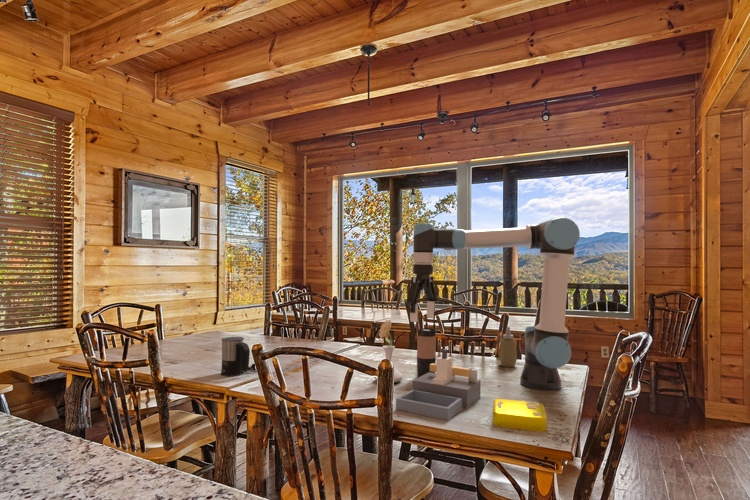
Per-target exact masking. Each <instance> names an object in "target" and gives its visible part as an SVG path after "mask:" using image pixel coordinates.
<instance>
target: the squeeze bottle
mask: <svg viewBox="0 0 750 500" xmlns="http://www.w3.org/2000/svg"><path fill="white" fill-rule="evenodd" d="M499 345H500V347H499V355H498V357H499V358H498V359H499V362H500V365H501V366H502V367H505V368H514V367H515V366H516V363H517V360H518V355H517V345H516V340H515V339H514V335H513V334H512V332H511V328H510V327H509V326H507V327H506V331H505V334H502V339H501V340H500V344H499Z"/></svg>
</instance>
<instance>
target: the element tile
mask: <svg viewBox="0 0 750 500" xmlns="http://www.w3.org/2000/svg"><path fill="white" fill-rule="evenodd" d="M547 423H548V417H547V412H546V409H545V406H544V404H543V403H541V402H537V401H527V400H526V401H524V400H514V399H506V398H495V399H494V400H493V405H492V425H493V426H495V427H496V428H505V429H513V430H522V431H530V432H539V433H541V432H543V433H544V431H545V432H547V431H546V430H547V429H548V428H547V427H548V424H547Z"/></svg>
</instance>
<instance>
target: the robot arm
mask: <svg viewBox="0 0 750 500" xmlns="http://www.w3.org/2000/svg"><path fill="white" fill-rule="evenodd" d="M580 233H581V232H580V229H579V227H578V224H577V223H576V222H575V221H573V220H572V219H570V218H567V217H563V216H561V217H560V216H559V217H558V216H557V217H553V218H551V219H549V220H546V221H543V222H539V223H534V224H527V225H526V226H525V227H510V228H508V227H507V228H490V229H489V228H488V229H469V230H465V229H464V228H463V229H462V228H461V229H460V228H435V227H434V223H426V222H420V223H419V222H418V223H416V224H415V225H414V227H413V254H412V257H413V260H412V261H413V262H412V263H414V264H413V267H412V273H413V274H414V275H416V276H411V280H410V281H411V283H410V286H409V290H408V294H407V298H406V302H407V304H408V305H409V304H410V305H409V306H410V307H409V309H410V311H409V313H410V314H409V320H410V323H418V322H419V321H418V320H419V318H418V317H419V316H418V311H419V310H418V309H419V304H417V303H418V300H419V297H420V295H421V292H422V291H423V290H424V293H425V295H426V299H427V300H428V301H426V318H427V319H435V302H437V301H438V296H437V291H436V287H435V281H434V276H433V274H434V265H433V264H434V249H442V250H445V251H453V250H469V249H472V250H474V249H495V248H496V249H497V248H498V249H499V248H520V247H526V248H527V249H528V250H530V249H531V250H532V249H534V250H535V249H536V250H540V251H539V254H540V255H541V256H542V258H543V265H542V266H543V270H542V280H541V281H542V283H541V295H540V296H541V297H540V307H539V308H540V309H539V310H540V311H539V322H538V324H537V325H535V326H531V325H528V326H526V327H525V330H524V366H523V369H522V372H521V374H520V378H519V383H520V384H521V386H524V387H527V388H529V389H535V390H544V391H552V390H553V391H554V390H555V391H556V390H558V389H561V388H562V380H561V376H560V374H559V369H560V368H562V367H564V366H566V364H568V362H569V361H570V359H571V357H572V349H571V346H570V344H569V343H570V342H569V334H570V333H569V332H570V331H569V329H567V327H566V325H565V324H566V314H567V313H566V311H567V310H566V308H567V297H568V296H567V295H568V283H569V271H570V270H569V269H570V260H571V259H572V258H573V257H575V249H576V245H577V243H578V242H579V240H580V236H581V234H580ZM430 275H432V276H430Z"/></svg>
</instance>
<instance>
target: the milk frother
mask: <svg viewBox="0 0 750 500" xmlns="http://www.w3.org/2000/svg"><path fill="white" fill-rule="evenodd" d="M244 339H245V337H242V336H228V337H223V338H221V340H220V341H221V369H220V370H221V371H220V375H221V376H224V377H234V376H235V377H236V376H240V375H243V374H244V372H246V371H249V370H250V371H251V370H252V369H253V370H254V371H255V370H256V369H255V364H256V363H255V364H254V363H252V364H251V365H250V355H251V354H250V353H251V351H250V350H251V349H250V347H249V345H248V344H247V343H246V342H244Z"/></svg>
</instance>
